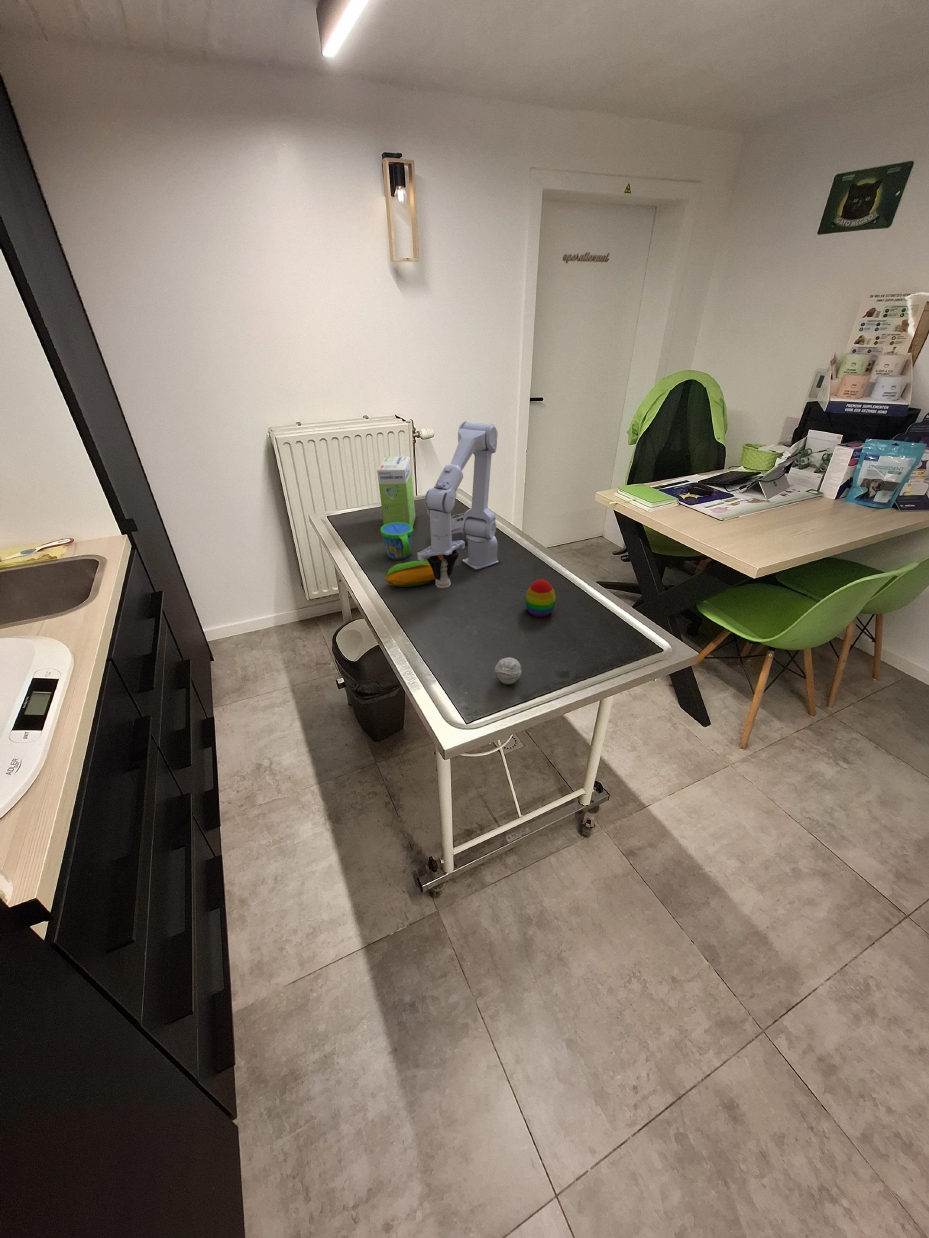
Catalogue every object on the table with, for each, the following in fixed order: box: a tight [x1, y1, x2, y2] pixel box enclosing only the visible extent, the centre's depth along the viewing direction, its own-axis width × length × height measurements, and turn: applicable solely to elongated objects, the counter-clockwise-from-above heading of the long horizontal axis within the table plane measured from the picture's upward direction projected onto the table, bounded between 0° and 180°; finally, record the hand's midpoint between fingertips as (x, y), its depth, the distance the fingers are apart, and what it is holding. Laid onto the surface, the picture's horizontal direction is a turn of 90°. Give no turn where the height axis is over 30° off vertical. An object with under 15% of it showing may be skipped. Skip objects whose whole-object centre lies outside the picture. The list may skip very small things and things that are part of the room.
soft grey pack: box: [451, 512, 468, 545], centre depth 176 cm, size 15×8×20 cm
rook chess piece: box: [435, 559, 451, 590], centre depth 139 cm, size 4×4×8 cm
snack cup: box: [379, 522, 414, 561], centre depth 162 cm, size 16×10×10 cm
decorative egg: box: [524, 578, 556, 618], centre depth 132 cm, size 8×8×10 cm
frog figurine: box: [494, 657, 522, 685], centre depth 109 cm, size 6×7×7 cm
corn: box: [384, 560, 436, 588], centre depth 147 cm, size 7×8×20 cm
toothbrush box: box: [376, 456, 416, 529], centre depth 180 cm, size 18×10×24 cm, turn 179°
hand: (442, 576), depth 139 cm, fingers closed on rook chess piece, 3 cm apart
